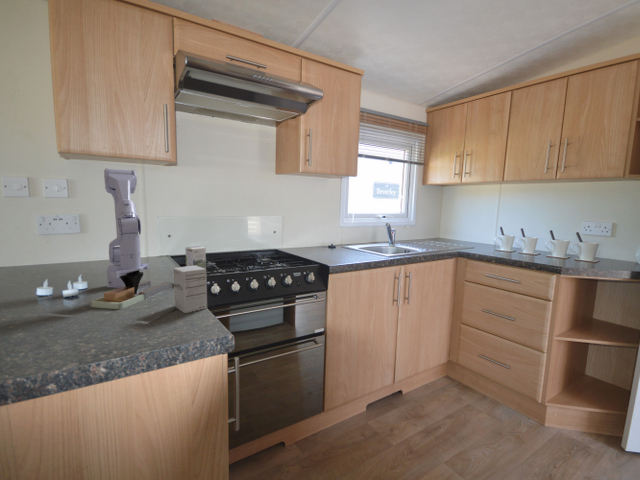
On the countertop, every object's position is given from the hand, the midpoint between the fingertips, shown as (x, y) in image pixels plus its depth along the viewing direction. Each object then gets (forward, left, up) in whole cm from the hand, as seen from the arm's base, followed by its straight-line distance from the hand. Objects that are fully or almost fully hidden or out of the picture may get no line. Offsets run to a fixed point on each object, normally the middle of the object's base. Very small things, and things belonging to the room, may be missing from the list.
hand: (132, 294), depth 107 cm
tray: (0, -6, -2) cm, 6 cm away
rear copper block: (0, -3, -1) cm, 4 cm away
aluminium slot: (0, +6, -2) cm, 6 cm away
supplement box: (+24, -4, -2) cm, 24 cm away
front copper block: (0, -7, -1) cm, 7 cm away
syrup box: (+8, +26, -2) cm, 27 cm away
